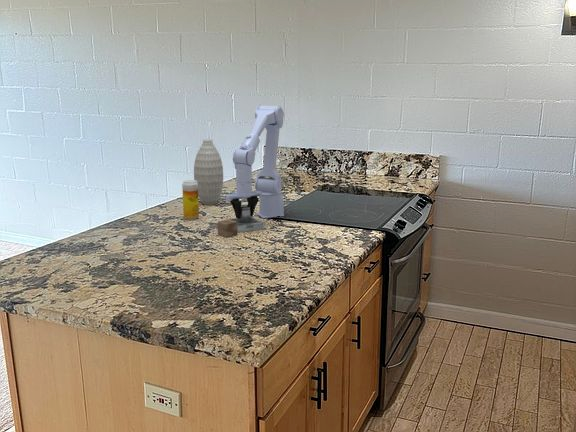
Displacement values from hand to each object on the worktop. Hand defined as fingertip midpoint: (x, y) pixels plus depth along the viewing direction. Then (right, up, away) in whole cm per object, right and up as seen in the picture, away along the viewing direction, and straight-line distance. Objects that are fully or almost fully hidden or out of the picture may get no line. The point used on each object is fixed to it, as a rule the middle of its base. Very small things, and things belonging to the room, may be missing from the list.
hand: (244, 217), depth 217 cm
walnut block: (-5, -6, -9) cm, 12 cm away
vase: (-18, +6, +39) cm, 43 cm away
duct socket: (0, -4, +1) cm, 4 cm away
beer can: (-22, -1, +14) cm, 26 cm away
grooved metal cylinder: (0, -2, +1) cm, 2 cm away
